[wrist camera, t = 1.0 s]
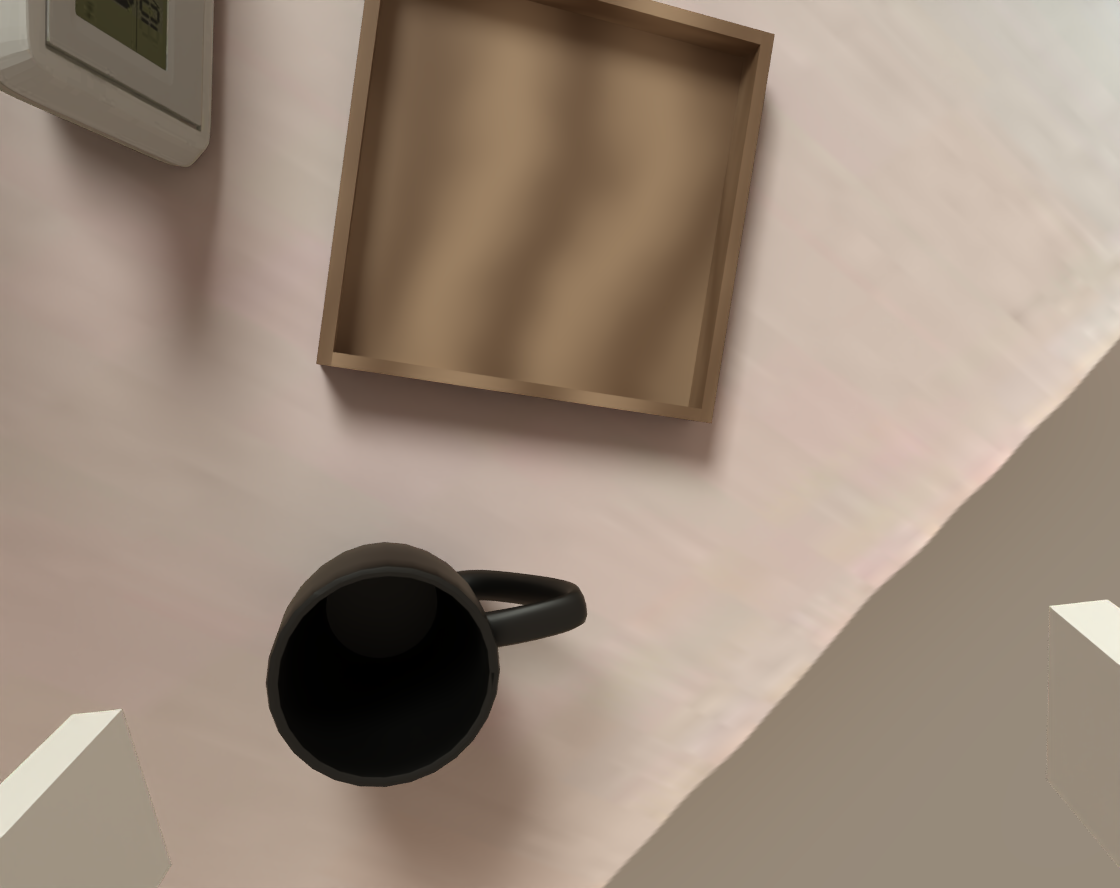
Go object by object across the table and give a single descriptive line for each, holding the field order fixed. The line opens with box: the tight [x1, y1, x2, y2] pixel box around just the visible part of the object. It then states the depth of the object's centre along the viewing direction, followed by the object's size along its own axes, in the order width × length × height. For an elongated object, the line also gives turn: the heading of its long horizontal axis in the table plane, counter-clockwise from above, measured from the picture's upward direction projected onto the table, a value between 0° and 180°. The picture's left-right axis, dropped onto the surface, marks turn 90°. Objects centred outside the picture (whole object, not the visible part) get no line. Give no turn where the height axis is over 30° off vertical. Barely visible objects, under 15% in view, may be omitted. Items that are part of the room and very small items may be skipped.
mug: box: [266, 542, 587, 787], centre depth 34 cm, size 8×12×10 cm
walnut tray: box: [316, 0, 775, 423], centre depth 37 cm, size 18×18×2 cm
